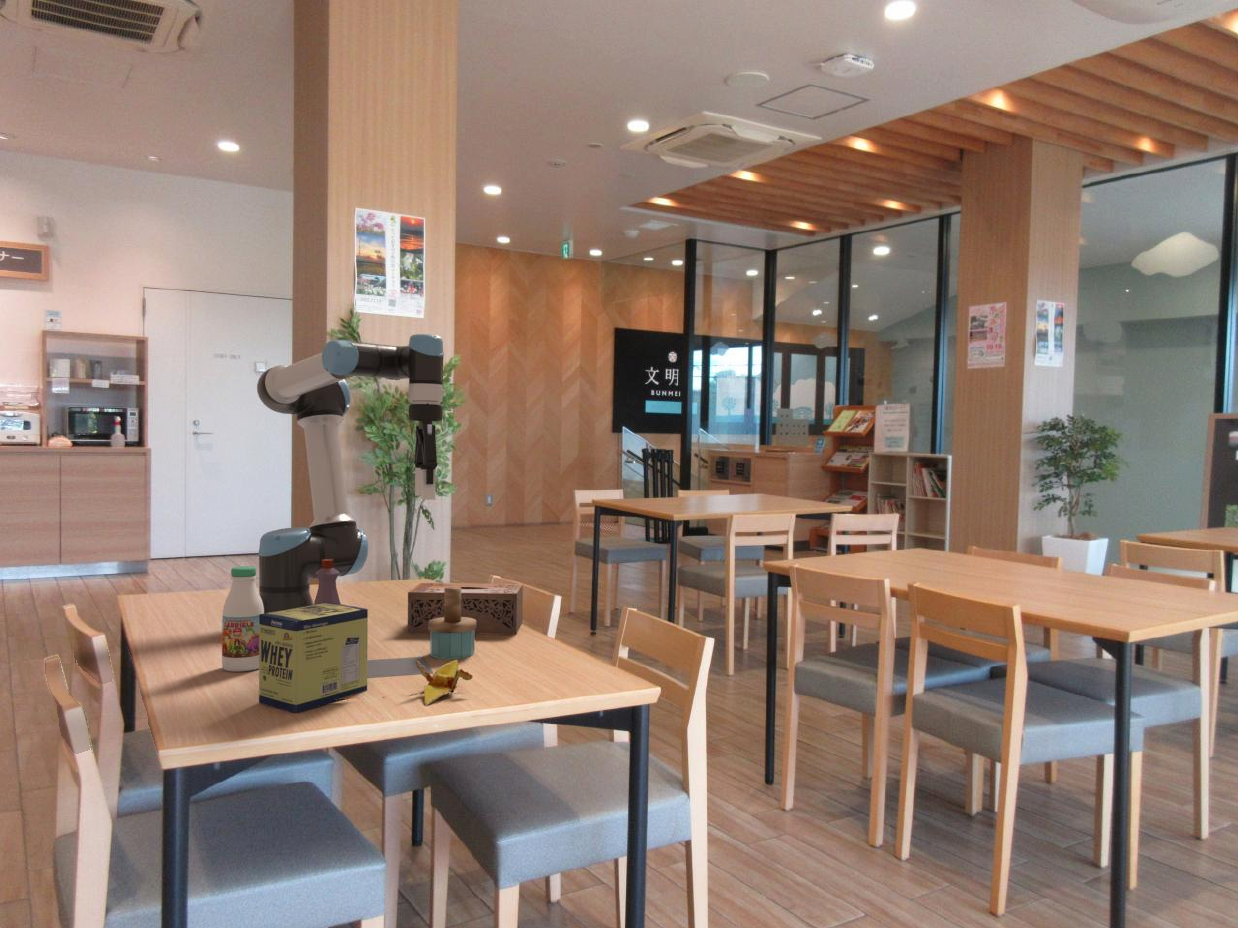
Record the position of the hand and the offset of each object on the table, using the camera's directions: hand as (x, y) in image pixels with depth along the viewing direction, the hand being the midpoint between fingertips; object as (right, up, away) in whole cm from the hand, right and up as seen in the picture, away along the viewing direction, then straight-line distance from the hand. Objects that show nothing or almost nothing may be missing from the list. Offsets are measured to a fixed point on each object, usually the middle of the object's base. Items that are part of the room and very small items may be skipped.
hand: (424, 497), depth 203 cm
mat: (-1, -33, -25) cm, 42 cm away
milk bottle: (-31, -33, -25) cm, 51 cm away
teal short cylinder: (+9, -33, -13) cm, 37 cm away
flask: (-18, -33, -12) cm, 39 cm away
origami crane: (+12, -34, -40) cm, 54 cm away
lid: (+9, -27, -13) cm, 31 cm away
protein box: (-10, -34, -45) cm, 57 cm away
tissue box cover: (+7, -33, +17) cm, 38 cm away
